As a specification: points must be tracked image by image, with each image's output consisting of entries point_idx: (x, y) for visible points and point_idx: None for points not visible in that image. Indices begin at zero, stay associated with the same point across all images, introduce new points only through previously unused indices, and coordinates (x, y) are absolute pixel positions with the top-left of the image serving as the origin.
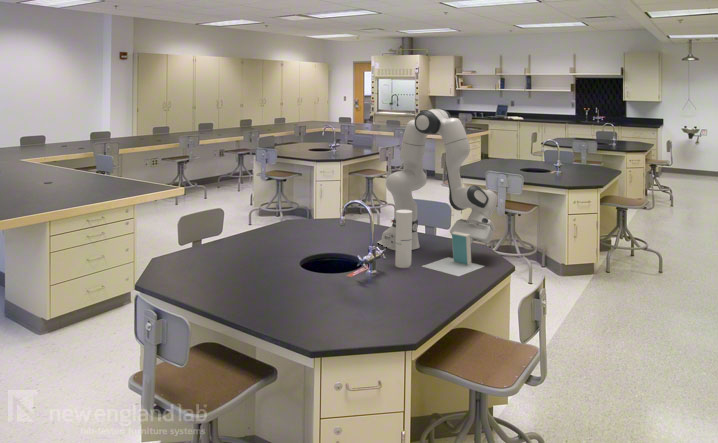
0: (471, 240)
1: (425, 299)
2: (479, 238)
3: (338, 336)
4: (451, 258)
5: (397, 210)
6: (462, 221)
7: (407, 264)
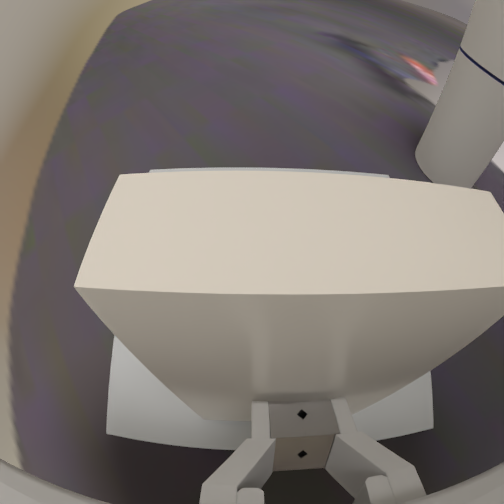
0: (202, 494)
1: (163, 45)
2: (21, 472)
3: None
4: (402, 423)
5: None
6: None
7: (420, 144)
